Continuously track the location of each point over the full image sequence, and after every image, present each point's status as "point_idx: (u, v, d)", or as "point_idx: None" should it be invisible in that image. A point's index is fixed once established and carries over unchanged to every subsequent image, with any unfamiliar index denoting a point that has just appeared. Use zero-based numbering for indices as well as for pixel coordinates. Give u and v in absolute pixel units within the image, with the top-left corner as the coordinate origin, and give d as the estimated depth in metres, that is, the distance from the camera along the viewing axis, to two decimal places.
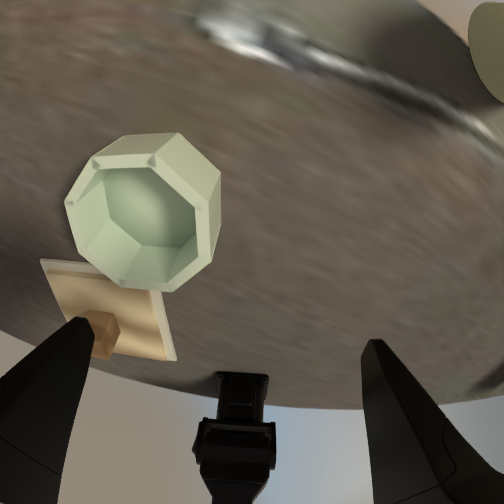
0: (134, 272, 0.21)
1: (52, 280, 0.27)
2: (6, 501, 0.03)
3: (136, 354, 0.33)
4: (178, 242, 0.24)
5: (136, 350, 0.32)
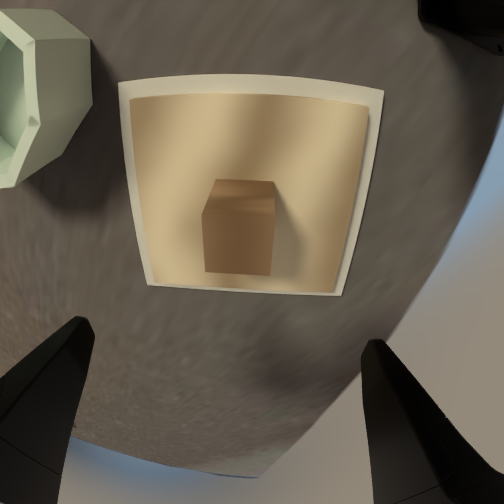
0: None
1: (165, 275, 0.19)
2: (6, 501, 0.03)
3: (351, 172, 0.15)
4: None
5: (336, 166, 0.15)
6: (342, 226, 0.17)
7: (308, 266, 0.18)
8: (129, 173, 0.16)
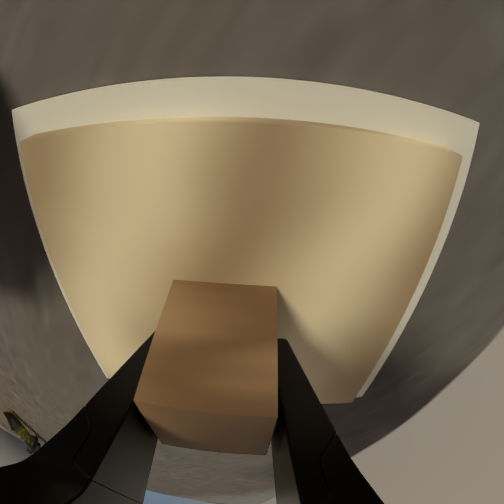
0: None
1: None
2: None
3: (413, 268, 0.08)
4: None
5: (391, 261, 0.08)
6: (381, 339, 0.10)
7: (323, 382, 0.12)
8: None
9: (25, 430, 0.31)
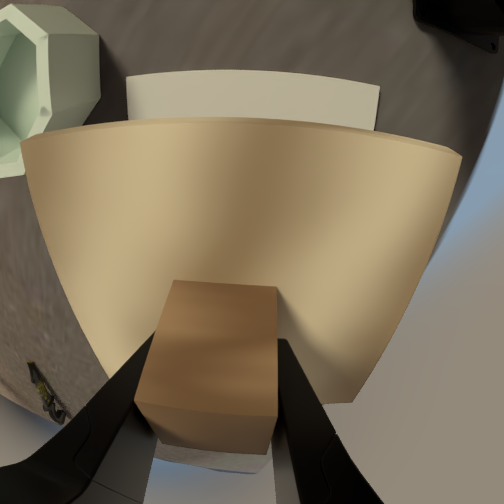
0: None
1: None
2: None
3: (413, 268, 0.08)
4: None
5: (390, 261, 0.08)
6: (381, 339, 0.10)
7: (323, 382, 0.12)
8: None
9: (43, 386, 0.38)
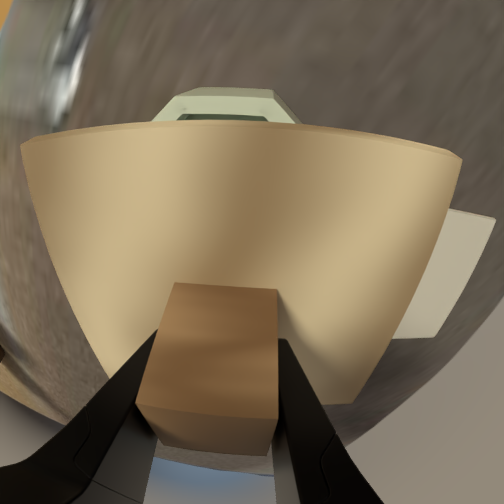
0: None
1: None
2: None
3: (413, 271, 0.08)
4: None
5: (390, 263, 0.08)
6: (381, 341, 0.10)
7: (323, 384, 0.12)
8: None
9: None
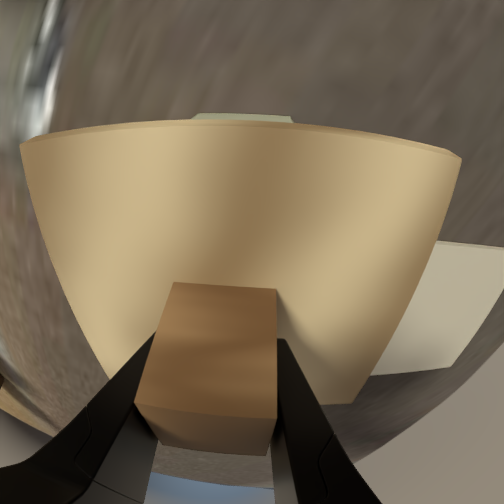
0: None
1: None
2: None
3: (412, 271, 0.08)
4: None
5: (390, 263, 0.08)
6: (381, 341, 0.10)
7: (323, 383, 0.12)
8: None
9: None
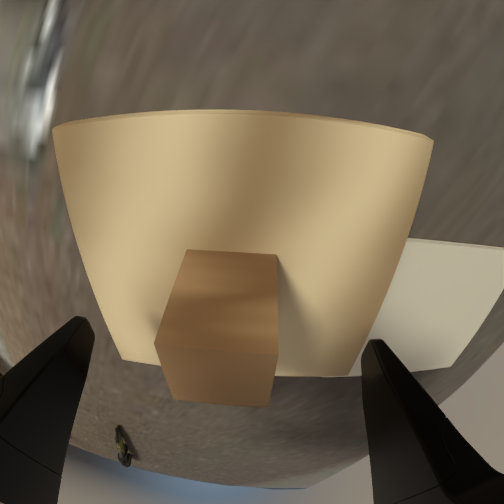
0: None
1: (134, 354, 0.14)
2: (6, 501, 0.03)
3: (396, 240, 0.09)
4: None
5: (375, 232, 0.09)
6: (372, 308, 0.11)
7: (320, 353, 0.13)
8: None
9: (122, 440, 0.40)
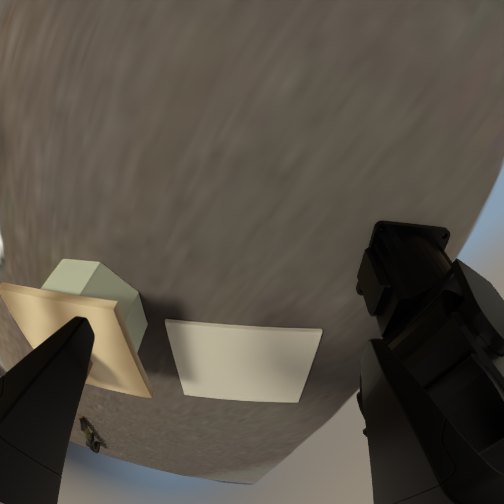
0: None
1: None
2: (6, 501, 0.03)
3: (122, 344, 0.20)
4: None
5: (110, 340, 0.19)
6: (134, 368, 0.21)
7: (126, 383, 0.23)
8: (175, 357, 0.29)
9: (88, 429, 0.50)
